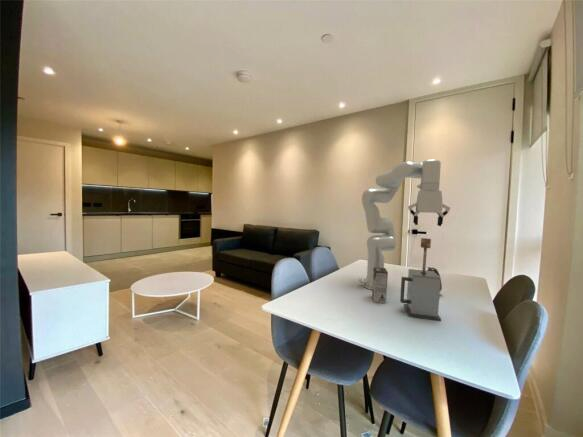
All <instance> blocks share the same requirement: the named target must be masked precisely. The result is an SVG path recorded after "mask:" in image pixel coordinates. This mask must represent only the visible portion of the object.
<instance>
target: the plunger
mask: <svg viewBox="0 0 583 437" xmlns="http://www.w3.org/2000/svg"><path fill="white" fill-rule="evenodd" d="M431 245H432V239H431V238H425V237H423V238H422V237H421V238H420V248H422V249H423V256H422V269H421V270H422V274H425V270H426V269H427V268H426V267H427V266H426V265H427V255H428V254H427V253H428V252H427V250H428V249H431V247H432V246H431Z"/></svg>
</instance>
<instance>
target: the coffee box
mask: <svg viewBox="0 0 583 437" xmlns="http://www.w3.org/2000/svg"><path fill="white" fill-rule="evenodd" d="M388 276H389V274H388V271H387V268H385V267H384V268H375V267H374V268H373V287H372V290H371V292H372V293H371V297H372V301H373V303H381V304H386V303H387V290H388V278H389V277H388Z"/></svg>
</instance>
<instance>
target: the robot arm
mask: <svg viewBox="0 0 583 437" xmlns="http://www.w3.org/2000/svg"><path fill="white" fill-rule="evenodd" d="M441 164H442V162H441V161H440V160H439V159H425V160H423V161H422V162H421V161H409V160H408V161H403V162H401V163H398V164H395V165H394V166H393V168H392V169H391V170H388V171H385V172H382V173H379V174H378V175H377V176H376V177H375V184H376V186H377V187H380V188H367V189H365V190H364V191H363V193H362V196H361V204H362V207H363V210H364V213H365V221H366V228H367V231H368V233H370V234H377V235H371V236H369V237H367V240H366V247H367V248H366V249H367V266H366V268H367V269H366V270H367V271H366V278H364V279H362V278H359V279H358V282H359V283H361V284H363V286H364V287H363V288H366V289H369V290H371V291H372V287H373V268H374V267H375V268H385V257H384V255H383V253H382V252H390V251H394V250H395V249H396V248H397V237H396V232H395V224H394V223H393V221H392V220H391V219H390V218H387V217H382V216H381V212H380V209H379V207H378V206H377V205H376V203H377V204H378V203H381V204H387V203H390V202H391V201H392V200H393V199H394V196H396V193H397V192H398V191H399V189H400V187H401V185H402V183H403V182H404V180H405V178H412V179H420V184H417V185H416V188H417V189H419V190H418V193H417V198H416V201H415V203H412V204H411V205H408V206H407V209H408V211H409V213H410V214H411V215H412V216H413V224H414V225H415V226H418V224H419V223H418V222H419V216H418V215H419V214H420V213H433V214H434V213H435V214H437V226H438V227H442V225H443V223H444V222H443V220H444V217H445V216H447V214H449V212H450V210H451V207H450V206H448V205H446V204H444V203H443V194H442V190H440V182H441V168H442V167H441V166H442V165H441ZM413 208H415V211H414V210H413ZM443 209H444V211H443ZM442 211H443V212H442ZM379 234H380V235H379ZM381 234H382V235H381Z"/></svg>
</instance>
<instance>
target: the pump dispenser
mask: <svg viewBox="0 0 583 437" xmlns="http://www.w3.org/2000/svg"><path fill="white" fill-rule="evenodd" d="M426 271H434V272H435V273H436V274H437V275H438V276H439V277H441V275H440V273H439V271H438V269H437V268H435V267H430V266H428V267H427V270H426ZM442 285H443V284H442V279H441V280H440V293H441V291H442V290H443V286H442Z"/></svg>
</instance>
